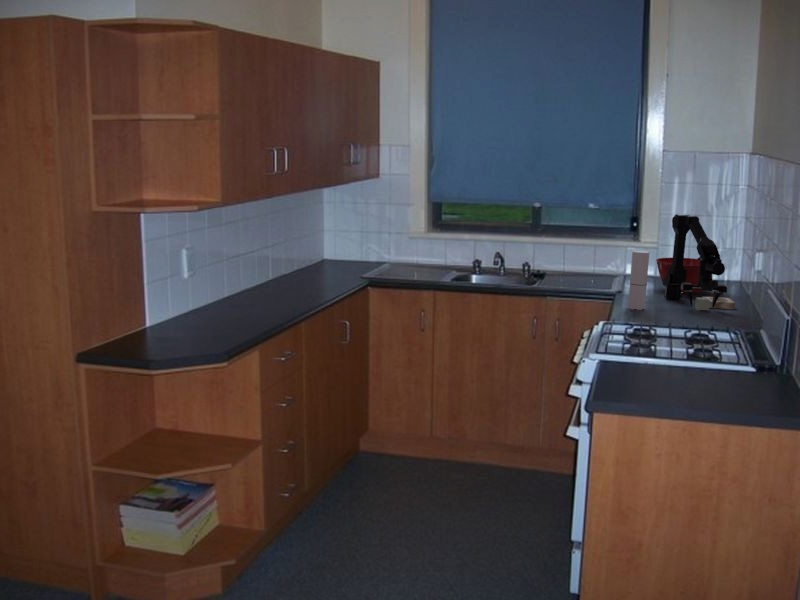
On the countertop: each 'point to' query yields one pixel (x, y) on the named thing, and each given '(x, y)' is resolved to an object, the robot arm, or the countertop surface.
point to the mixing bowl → (688, 264)
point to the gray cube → (702, 303)
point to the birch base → (722, 303)
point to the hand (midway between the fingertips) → (702, 306)
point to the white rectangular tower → (638, 280)
